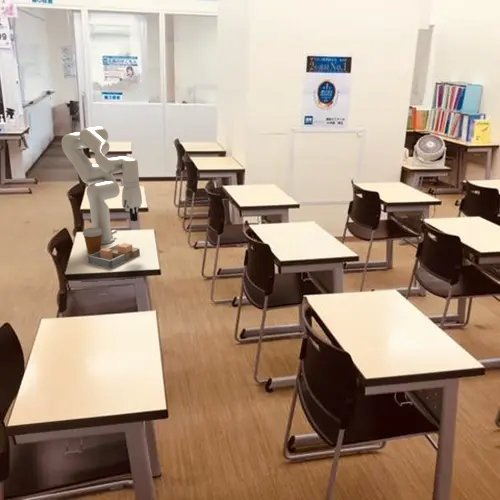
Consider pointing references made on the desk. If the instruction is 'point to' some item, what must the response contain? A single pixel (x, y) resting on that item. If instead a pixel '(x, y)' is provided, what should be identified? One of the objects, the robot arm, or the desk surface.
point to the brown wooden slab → (127, 255)
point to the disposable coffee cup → (93, 239)
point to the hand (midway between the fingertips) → (134, 220)
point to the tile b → (125, 248)
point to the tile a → (106, 254)
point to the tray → (105, 260)
